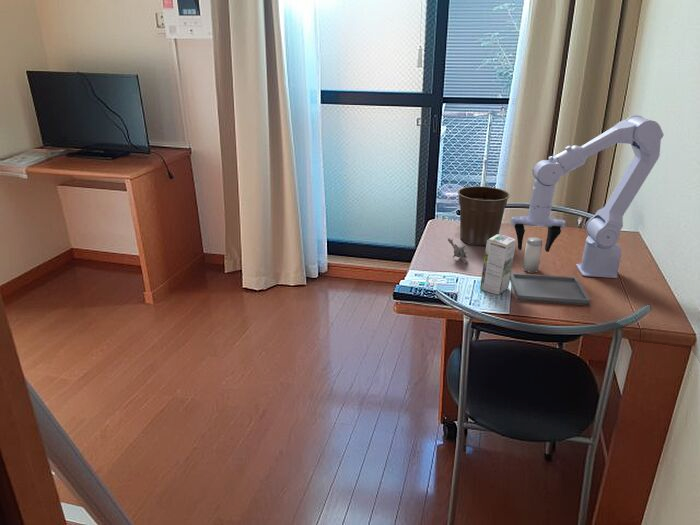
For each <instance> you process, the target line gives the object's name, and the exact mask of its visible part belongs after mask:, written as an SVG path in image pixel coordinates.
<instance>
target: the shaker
mask: <svg viewBox="0 0 700 525" xmlns="http://www.w3.org/2000/svg"><path fill="white" fill-rule="evenodd" d="M542 248H543V239H541V238H540V237H528V238H527V241H526V243H525V250H524V256H523V262H522V268H523V269H524V270H526V271H525V272H527V271H529V272H528V273H537V272H538V271H539V267H540V260H541V255H542V251H543V250H542ZM522 268H521V269H522ZM523 269H522V270H523ZM524 270H523V271H524ZM536 271H537V272H536Z"/></svg>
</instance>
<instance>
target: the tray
mask: <svg viewBox="0 0 700 525" xmlns="http://www.w3.org/2000/svg"><path fill="white" fill-rule="evenodd" d="M509 282H510V284H511V287H512V289H513V293H514V296H515V298H516V301H519V300H520V301H519V302H536V303H537V302H538V303H548V304H550V303H551V304H563V305H579V306H590V305H591V299H590V296H589V295H588V293H587V292H586V290H585V289H584V287H583V285H582V284H581V283H580V281H579V279H578V278H577V276H566V275H550V274H536V273H533V274H532V273H521V272H520V273H518V272H511V275H510V281H509Z"/></svg>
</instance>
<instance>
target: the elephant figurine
mask: <svg viewBox="0 0 700 525" xmlns="http://www.w3.org/2000/svg"><path fill="white" fill-rule="evenodd" d="M453 240H454V238H452V239H451V238H449V237H448V238H447V241H448V242H449V244H451V246H452V248H453V256H452V258H453V259H454V258H455V257H456V258H461V259H462V261H463V262H464V264H465V265H466V266H469V265H470V263H469V260H467V259H466V258H465V256H467V253H468V252H467V251H465V250H466V249H468V247H466V246H465V244H463V245H461V246H459V245H457V244H456V243H455V244H454V242H453Z"/></svg>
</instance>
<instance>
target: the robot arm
mask: <svg viewBox="0 0 700 525" xmlns="http://www.w3.org/2000/svg"><path fill="white" fill-rule="evenodd" d="M664 135H665V134H664V132H663V130H662V127H661V125H660V124H659V123H658V122H657V121H655V120H651V119H648V118H645V117H642V116H641V115H637V114H635V115H631V116H629V117H627V118H626V119H623V120H620V121H619V122H617V123H616V124H615V125H613V126H612V127H611V128H609V129H607V130H606V131H604V132H603V133H601V134H598V135H597V136H596V137H594V138H592V139H591V140H589V141H588V142H586V143H584V144H582V145H581V146H580V145H576V144H574V145H572V146H571V145H567V146H565V147H564V150H562V151H561V152H559V153H557V154H555V155H553V156H552V155H551V156H548V159H542V160H539V161H538V162H537V163H536V164H535V165H534V168H532V175H533V177H534V179H533V185H532V190H531V197H530V202H529V209H528V213H527V215H526V216H511V218H510V225H511V226H513V227H514V231H515V235H516V238H517V239H516V241H517V249H518V251H522V248H523V241H524V240H523V239H524V235H525V232H526V229H525V226H529V227H530V226H531V227H532V226H533V227H543V228H544V227H546V228H547V236H546V241H545V245H544V246H545V247H544V251H545V252H546V253H549V252H550V250H551V248H552V246H553V244H554V242H555V241H556V240H557V238H558V237H559V236H560V235H561V233H562V229H563V230H564V229H565V228H566V221H565V220H564V219H558V218H552V217H550V216H551V211H552V205H553V200H554V194H555V187H556V184H557V183H558V182H559V181H560V179H561V177H562V176H564V175H566V174H568V173H571V172H573V171H574V170H575V169H578V168H579V167H581V166H583V165H585V164H586V161H587V159H588V158H589V157H591V156H594V155H595V154H597V153H600V152H601V151H603V150H606V149H608V148H609V147H611V146H614V145H615V144H627V145H628V144H630V146H631V149H632V151H633V153H634V157H633V158H632V160H630V163H629V165H628V166H627V167H626V170H625V171H624V172H623V175H622V176H621V178H620V180H619V182H618V183H617V185H616V186H615V188H614V190H613V191H612V194H611V195H610V196H609V198H608V200H607V201H606V203H605V204H604V206H603V207H602V208H600V209H597V211H596V212H595V214H594V215H593V216H592V217H591V218H589V219H588V220H587V221H586V223H585V228H584V229H585V233H586V234H587V237H586V239H585V244H584V247H583V253H582V257H581V262H580V263H576V264H575V266H576V268H577V269H578V271H579V272H580V274H581V276H583V277H594V278H595V277H596V278H609V279H617V278H618V272H619V267H620V262H621V258H622V248H621V245H620V244H618V241H619V239H620V233H621V230H622V229H623V227H624V222H623V220H624V219H623V217H624V215H625V213H626V211H627V210H628V209H629V207H630V205H631V204H632V202H633V200H634V199H635V197H636V196H637V194H638V193H639V191H640V189H641V187H642V186H643V184H644V183H645V181H646V179H648V178H647V177H648V176H649V174H650V173H651V172H652V169H653V168H654V166H655V164H656V163H657V161H658V160H659V157H660V155H661V154H660V153H661V143H662V142H661V141H662V139H663V137H664Z"/></svg>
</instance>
